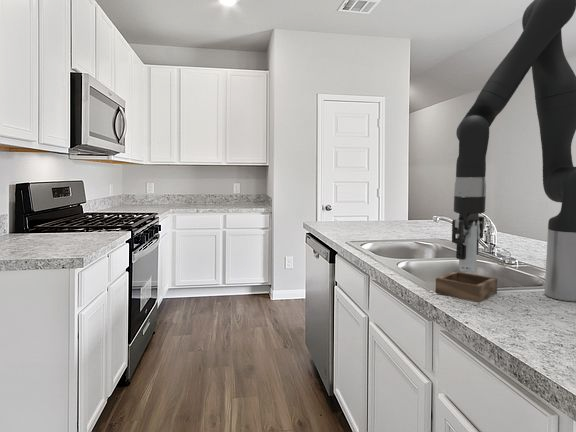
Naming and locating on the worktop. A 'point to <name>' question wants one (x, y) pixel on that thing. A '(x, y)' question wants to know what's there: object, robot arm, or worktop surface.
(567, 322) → the worktop surface
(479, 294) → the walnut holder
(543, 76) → the robot arm
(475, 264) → the skincare box
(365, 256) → the worktop surface
